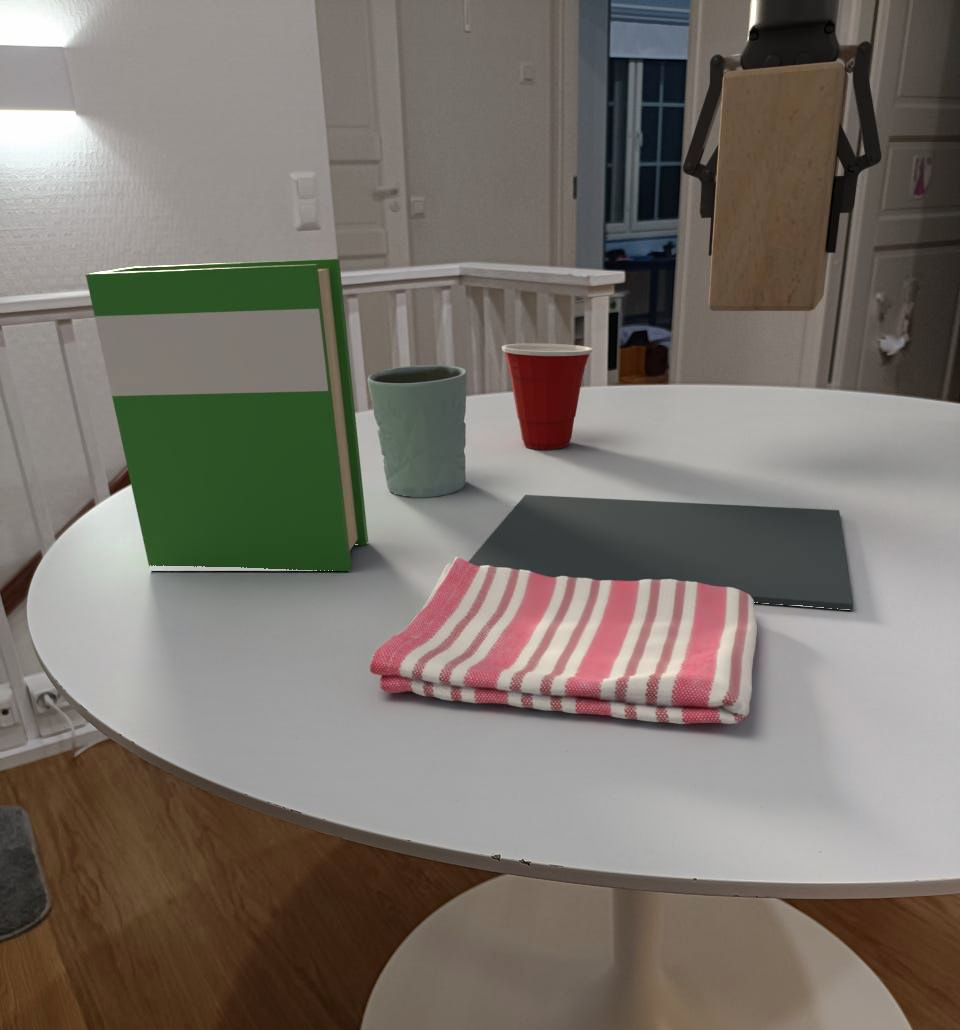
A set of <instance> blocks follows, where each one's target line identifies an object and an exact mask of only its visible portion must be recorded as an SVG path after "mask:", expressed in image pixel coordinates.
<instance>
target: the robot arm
mask: <svg viewBox="0 0 960 1030" xmlns="http://www.w3.org/2000/svg"><path fill="white" fill-rule="evenodd" d="M839 9H840V0H750V3H749V15H748V27H747V39H746V43H745V45H744V48H743V50H742V52H741V53H738V54H731V55H724V56H723V55H721V54H714V55H713V56H712V57H711V58H710V61H709V86H708V89H707V90H706V91H707V92H706V94H705V98H704V101H703V104H702V107H701V110H700V113H699V116H698V119H697V122H696V126H695V129H694V132H693V135H692V137H691V141H690V144H689V146H688V150H687V153H686V157H685V159H684V162H683V165H682V171H683V173H684V174H685V175H688V176H691V177H694V178H697V179H698V180H699V181H700V186H701V187H700V202H699V203H700V204H699V214H700V218H701V219H710V226H709V227H710V229H709V241H708V242H709V243H708V257H711V256H712V241H713V225H714V209H715V194H716V178H717V163H718V147H719V143H718V144H717V146H716V147H715V149H714V151H713V152H712V155H711V156H710V157H709V159H708V161H707V163H706V164H703V163H701V162H702V159H703V157H704V153H705V150H706V147H707V144H708V142H709V139H710V136H711V131H712V130H713V126H714V124H715V120H716V117H717V114H718V112H719V108H720V106H721V101H722V85H723V77H724V75H725V73H727V72H729V71H738V69H741V70H749V69H760V68H771V67H781V66H792V65H803V64H814V63H825V62H836V61H838V60H839V61H842V64H843V66H844V68H845V70H846V72H847V73H848V74H852V87H853V92H854V98H855V104H856V110H857V116H858V122H859V128H860V133H861V140H862V145H863V151H864V152H863V153H864V154H861V155H860V156H857V155H855V152H854V149H853V147H852V144H851V143H850V141H849V139H848V137H847V134H846V132H845V130H844V127H843V128H842V126H841V123H840V125H839V134H838V142H837V151H836V152H837V155H838V158H839V163H840V164H841V166H842V168H843V175H837V176H835V184H834V192H833V201H832V210H831V218H830V227H829V236H828V244H827V253H828V254H832V253H833V254H836V252H837V251H836V250H837V244H838V243H837V242H838V234H839V226H840V219H841V218H840V216H841V214H850V213H852V211H853V209H854V207H855V201H856V192H857V186H858V178H859V175H860V174H861V173H862V172H863V171H864V170H866V169H869V168H871V167H874V166H876V165H878V164H879V163H880V162H881V160H882V150H881V149H882V148H881V144H880V138H879V137H880V136H879V132H878V126H877V125H878V124H877V119H876V113H875V107H874V101H873V95H872V89H871V83H870V76H869V67H870V62H871V61H870V60H871V57H872V56H871V55H872V44H871V42H870V41H867V40H864V41H862V42H861V43H859V44H840V42H839V40H838V36H837V28H838V18H839Z"/></svg>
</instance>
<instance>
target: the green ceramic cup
mask: <svg viewBox="0 0 960 1030" xmlns="http://www.w3.org/2000/svg"><path fill="white" fill-rule="evenodd" d="M467 372H468V371H467V370H466V369H465V368H463V367H460V366H455V365H449V364H448V365H446V364H420V365H419V364H418V365H410V366H409V365H408V366H400V367H393V368H388V369H383V370H380V371H377V372H373V373H371V374H370V375H368V377H367V385H368V389H369V390H368V391H369V395H370V399H371V405H372V410H373V415H374V419H375V421H376V425H377V426H378V429H377V437H378V441H379V446H380V452H381V455H382V456H383V462H382V463H383V470H384V475H385V482H386V487H387V490H388V491H389V490H390V491H391V492H393V493H396V494H398V495H397V496H399V495H405V496H411V497H410V498H433V497H442V496H447V495H451V494H454V493H455V492H458V491H460V490H462V489H463V488H464V487H465V485H466V481H467V473H466V472H467V471H466V470H467V469H466V468H467V466H466V461H467V460H466V454H465V448H466V443H467V442H466V441H467V439H466V435H467V432H466V431H467V429H466V428H467V426H466V422H465V417H466V412H467V411H466V410H467V409H466V408H467V405H466V404H467V375H468V373H467ZM390 491H389V492H390ZM391 492H390V493H391ZM393 493H392V494H393Z"/></svg>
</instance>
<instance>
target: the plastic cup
mask: <svg viewBox="0 0 960 1030" xmlns="http://www.w3.org/2000/svg"><path fill="white" fill-rule="evenodd" d="M501 350H502V351H503V352H504V355H505V358H506V364H507V368H508V373H509V374H510V380H511V382H510V383H511V387H512V392H513V399H514V404H515V410H516V416H517V419H518V423H519V429H520V435H521V440H522V443H523V445H524V447H526V448H527V449H533V450H542V451H544V450H545V451H546V450H547V451H548V450H549V451H550V450H557V449H564V448H566V447H568V446H570V444H571V439H572V436H573V430H574V424H575V423H574V422H575V417H576V414H577V409H578V404H579V398H580V393H581V388H582V387H581V386H582V381H583V376H584V373H585V370H586V365H587V363H588V358H589V357H590V355H591V354H592V353H593V351H594V348H593V347H589V346H585V345H577V344H567V343H566V344H565V343H511V344H505V345H502V346H501Z"/></svg>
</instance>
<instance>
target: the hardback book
mask: <svg viewBox="0 0 960 1030" xmlns="http://www.w3.org/2000/svg"><path fill="white" fill-rule="evenodd" d="M341 272H342V271H341V264H340V258H338V257H337V258H316V259H294V260H293V259H291V260H271V261H270V260H269V261H267V260H266V261H245V262H243V261H242V262H221V263H217V262H216V263H196V264H195V263H193V264H173V265H171V264H170V265H169V264H168V265H147V266H146V265H145V266H128V267H122V268H116V269H109V270H103V271H97V272H91V273H86V274H85V279H86V283H87V288H88V291H89V296H90V302H91V305H92V306H91V307H92V310H93V315H94V319H95V324H96V328H97V333H98V339H99V342H100V347H101V352H102V356H103V360H104V364H105V365H104V366H105V370H106V374H107V380H108V385H109V389H110V393H111V398H112V403H113V407H114V412H115V416H116V417H115V418H116V421H117V427H118V430H119V435H120V439H121V444H122V449H123V453H124V457H125V462H126V463H125V464H126V467H127V472H128V476H129V480H130V486H131V489H132V494H133V500H134V503H135V508H136V513H137V518H138V522H139V526H140V531H141V537H142V541H143V545H144V550H145V554H146V560H147V563H148V567H149V566H150V565H151V566H153V565H154V566H155V565H156V566H163V565H164V566H194V567H195V566H196V567H197V566H202V567H203V566H205V567H241V568H242V567H244V568H246V567H247V568H264V569H266V568H268V569H286V570H287V569H289V570H292V569H293V570H296V569H297V570H313V571H314V570H317V571H320V570H321V571H324V570H325V571H328V570H329V571H332V570H333V571H349V570H350V569H351V570H352V568H351V567H352V560H351V559H352V558H351V550H352V549H353V547H354V546H356V545H355V544H358V545H357V546H367V545H368V543H369V535H368V525H367V516H366V507H365V506H366V505H365V495H364V488H363V486H364V485H363V477H362V468H361V467H362V466H361V457H360V447H359V437H358V430H357V420H356V419H357V418H356V408H355V401H354V399H355V398H354V390H353V381H352V371H351V360H350V350H349V342H348V331H347V323H346V321H347V320H346V311H345V301H344V293H343V292H344V291H343V284H342V283H343V282H342V274H341ZM367 542H368V543H367ZM366 544H367V545H366ZM351 570H350V571H351ZM350 571H349V572H350Z"/></svg>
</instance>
